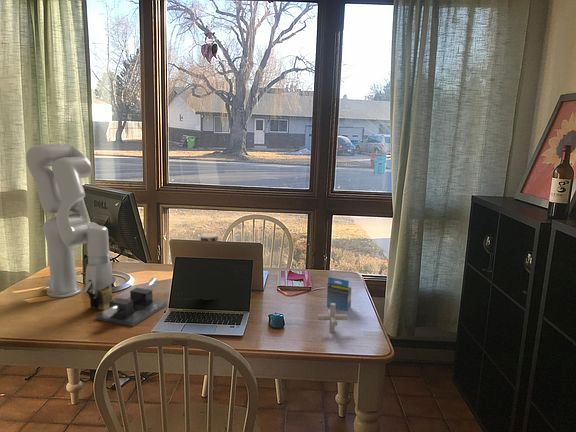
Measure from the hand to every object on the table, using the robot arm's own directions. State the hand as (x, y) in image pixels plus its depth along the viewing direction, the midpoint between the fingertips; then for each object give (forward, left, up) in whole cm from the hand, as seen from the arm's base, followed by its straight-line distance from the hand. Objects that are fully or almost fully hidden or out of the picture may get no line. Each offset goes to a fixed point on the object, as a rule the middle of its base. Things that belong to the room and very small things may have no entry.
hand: (101, 303), depth 180 cm
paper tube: (+31, +28, -1) cm, 42 cm away
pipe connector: (+87, +13, -1) cm, 88 cm away
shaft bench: (+14, 0, -1) cm, 14 cm away
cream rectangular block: (0, 0, -1) cm, 1 cm away
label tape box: (+84, +35, -1) cm, 91 cm away
